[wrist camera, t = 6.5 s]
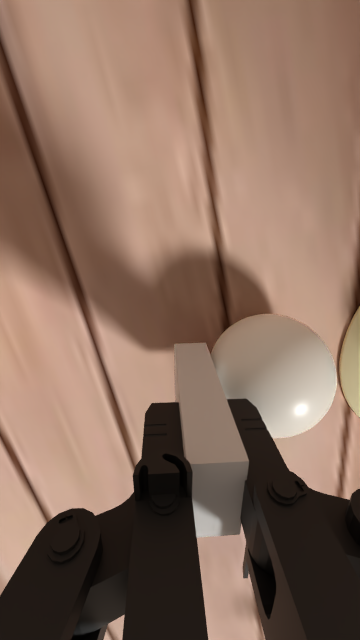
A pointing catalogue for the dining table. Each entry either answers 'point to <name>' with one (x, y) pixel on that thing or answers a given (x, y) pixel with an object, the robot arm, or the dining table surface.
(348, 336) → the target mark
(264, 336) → the cue ball
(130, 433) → the dining table surface
